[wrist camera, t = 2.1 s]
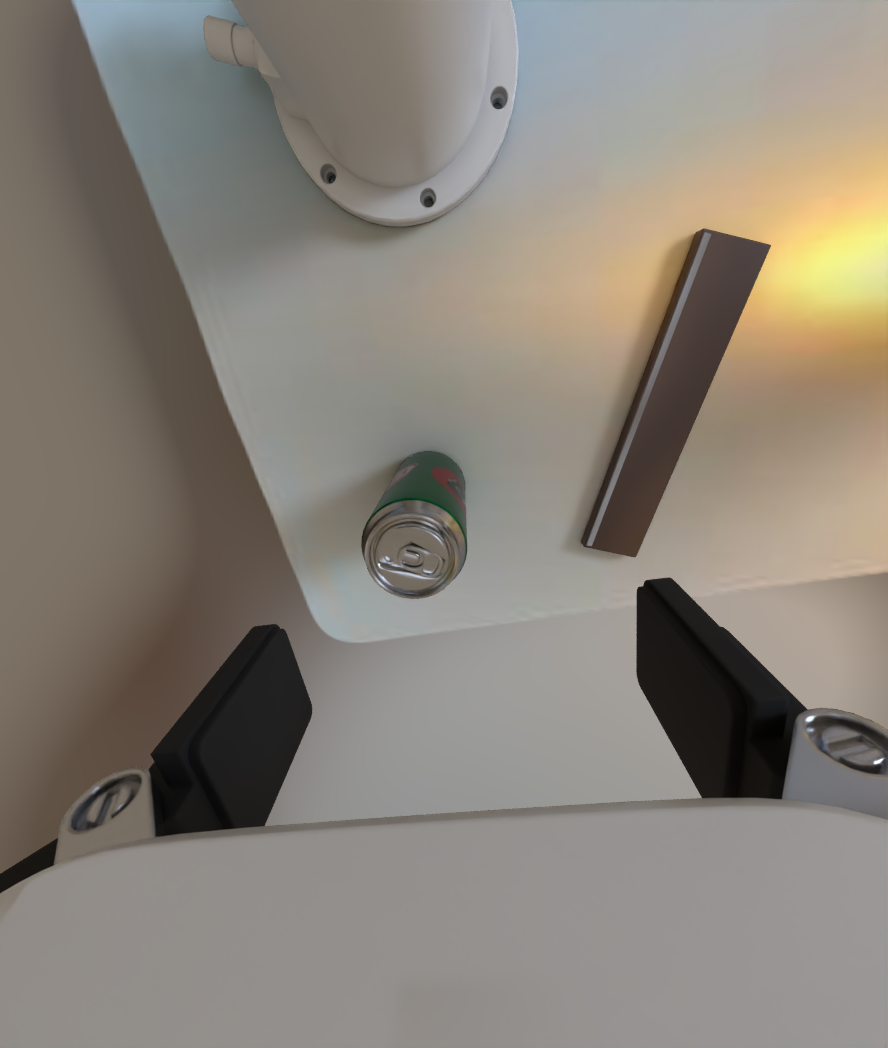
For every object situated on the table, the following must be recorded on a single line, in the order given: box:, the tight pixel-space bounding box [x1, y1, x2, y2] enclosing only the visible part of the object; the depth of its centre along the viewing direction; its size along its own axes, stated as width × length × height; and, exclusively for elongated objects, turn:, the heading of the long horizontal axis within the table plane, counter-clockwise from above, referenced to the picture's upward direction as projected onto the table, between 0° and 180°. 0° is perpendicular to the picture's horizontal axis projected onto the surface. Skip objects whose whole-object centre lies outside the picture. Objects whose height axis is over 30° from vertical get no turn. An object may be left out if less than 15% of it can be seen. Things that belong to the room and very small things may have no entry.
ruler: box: [581, 229, 771, 557], centre depth 27 cm, size 4×20×1 cm, turn 168°
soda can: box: [361, 451, 467, 599], centre depth 24 cm, size 5×5×12 cm
